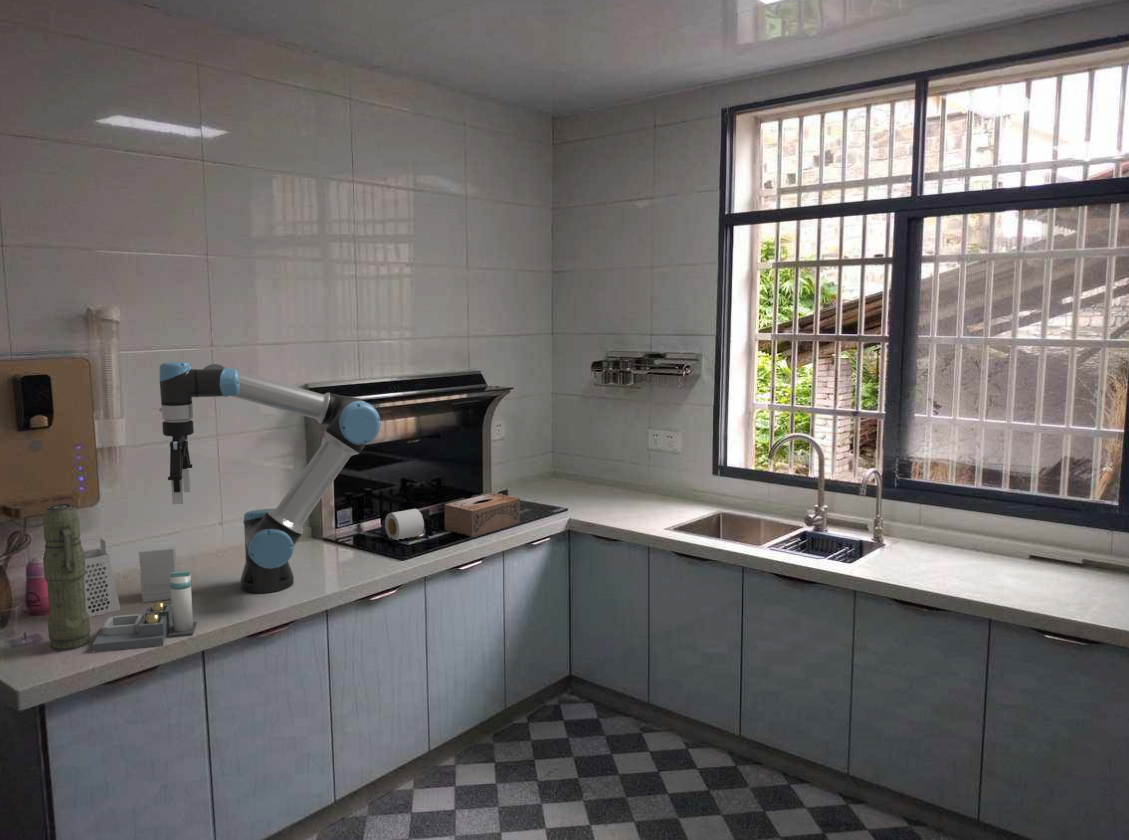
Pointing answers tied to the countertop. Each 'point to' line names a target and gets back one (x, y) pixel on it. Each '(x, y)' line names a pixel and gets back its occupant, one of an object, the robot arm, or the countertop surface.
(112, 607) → the grater
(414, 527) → the toilet paper
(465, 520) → the tissue box cover
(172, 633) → the mat
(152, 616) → the plunger
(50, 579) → the thermos
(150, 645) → the housing
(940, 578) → the countertop surface
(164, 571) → the supplement box
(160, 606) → the plunger
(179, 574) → the cartridge
